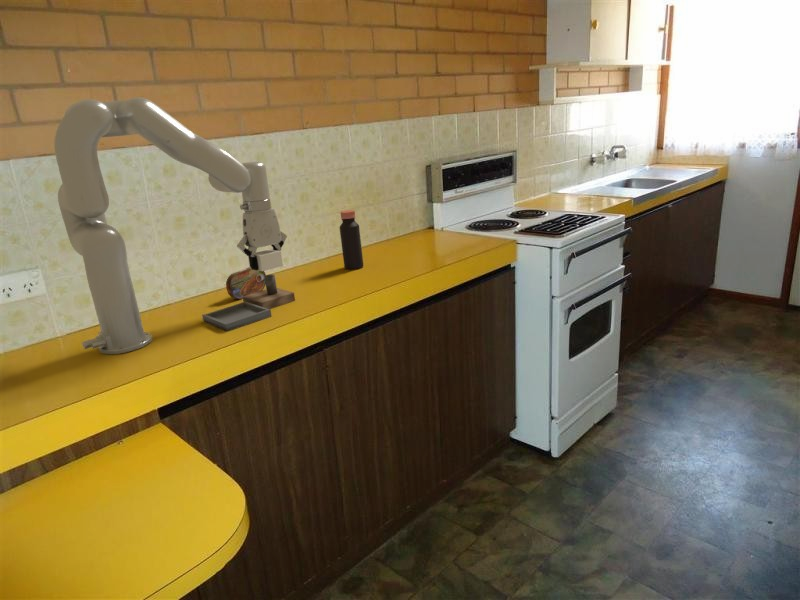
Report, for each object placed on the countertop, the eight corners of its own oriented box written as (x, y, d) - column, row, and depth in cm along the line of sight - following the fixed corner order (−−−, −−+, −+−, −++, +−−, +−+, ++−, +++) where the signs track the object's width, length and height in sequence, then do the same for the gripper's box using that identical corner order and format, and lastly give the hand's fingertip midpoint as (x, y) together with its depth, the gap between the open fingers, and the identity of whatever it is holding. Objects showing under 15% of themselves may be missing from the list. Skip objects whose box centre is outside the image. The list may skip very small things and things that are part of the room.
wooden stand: (263, 311, 164) (258, 284, 162) (243, 304, 172) (239, 279, 170) (295, 300, 172) (291, 274, 169) (275, 294, 179) (271, 270, 177)
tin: (234, 302, 176) (229, 276, 173) (227, 301, 177) (222, 275, 175) (268, 288, 187) (264, 263, 185) (261, 287, 189) (257, 262, 187)
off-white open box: (262, 271, 164) (259, 256, 163) (249, 268, 169) (247, 253, 168) (282, 266, 169) (280, 251, 168) (270, 263, 174) (268, 248, 173)
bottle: (352, 271, 199) (345, 213, 193) (340, 268, 204) (333, 212, 198) (367, 266, 203) (361, 210, 197) (356, 264, 208) (349, 209, 202)
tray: (227, 331, 150) (225, 324, 150) (203, 321, 160) (202, 315, 159) (271, 316, 159) (270, 309, 159) (246, 307, 169) (245, 301, 168)
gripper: (236, 211, 156) (246, 275, 161) (290, 202, 167) (297, 262, 172) (223, 210, 161) (233, 271, 166) (276, 201, 172) (284, 259, 177)
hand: (266, 266), depth 169 cm, fingers closed on off-white open box, 6 cm apart
